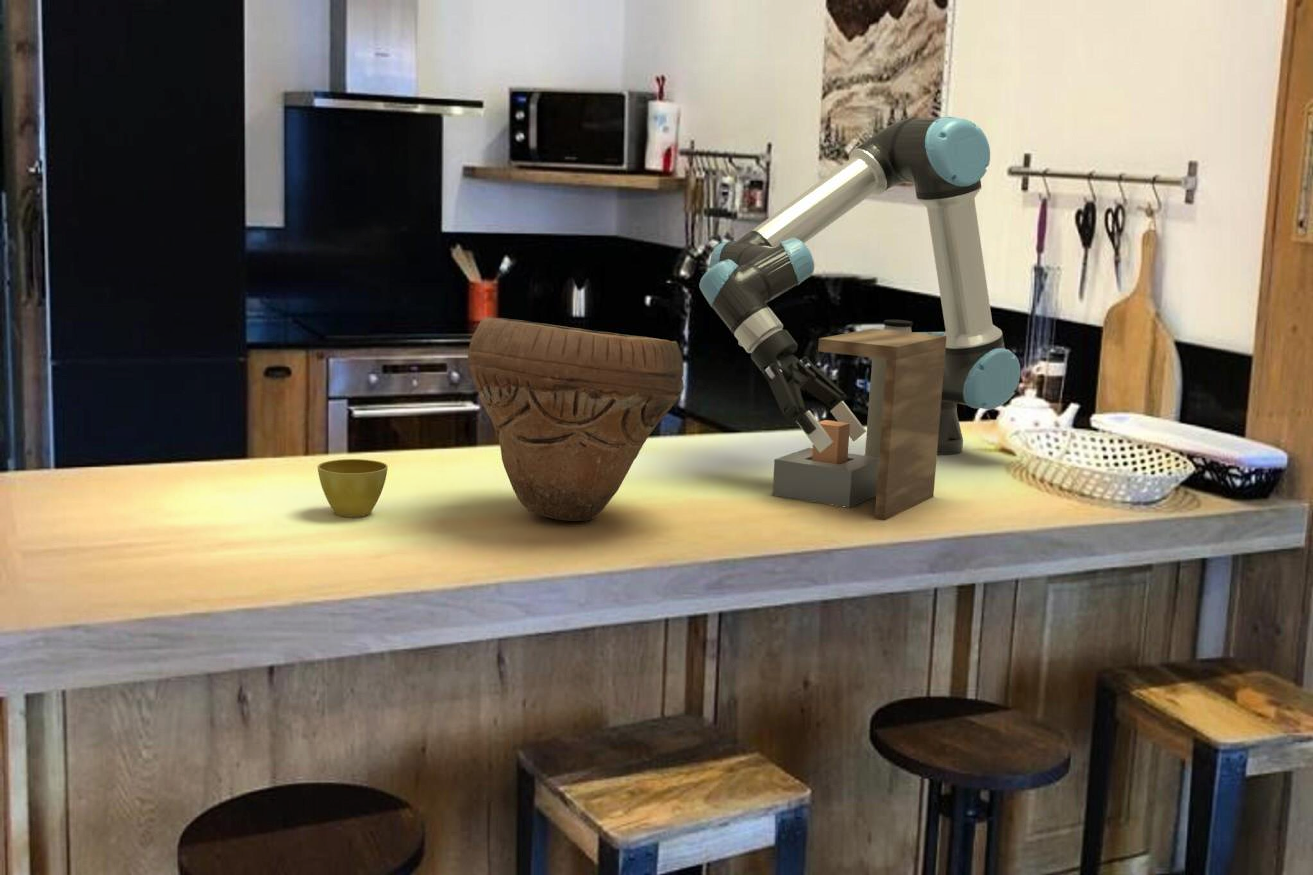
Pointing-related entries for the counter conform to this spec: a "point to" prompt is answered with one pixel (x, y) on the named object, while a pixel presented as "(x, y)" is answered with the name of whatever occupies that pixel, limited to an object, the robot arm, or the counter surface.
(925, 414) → the wooden l-shaped bracket
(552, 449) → the pot
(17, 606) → the counter surface
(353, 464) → the flower pot
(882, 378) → the thermos bottle
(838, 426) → the peg
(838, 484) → the socket
